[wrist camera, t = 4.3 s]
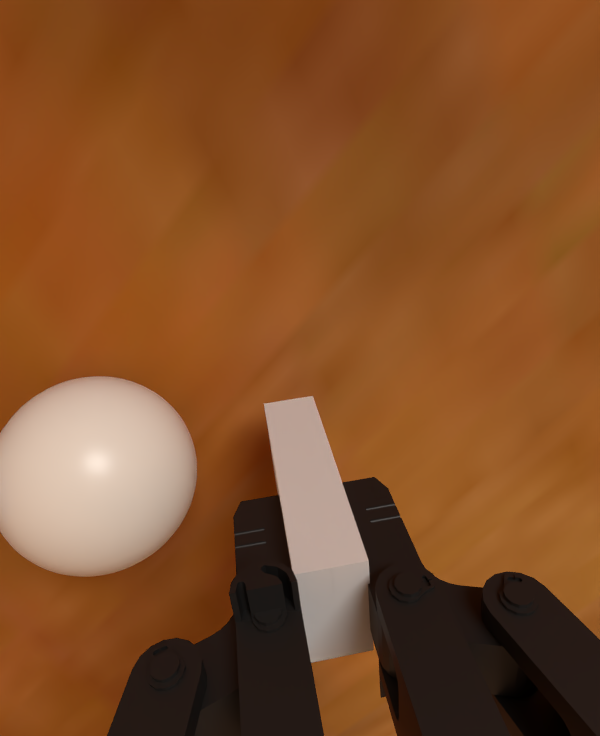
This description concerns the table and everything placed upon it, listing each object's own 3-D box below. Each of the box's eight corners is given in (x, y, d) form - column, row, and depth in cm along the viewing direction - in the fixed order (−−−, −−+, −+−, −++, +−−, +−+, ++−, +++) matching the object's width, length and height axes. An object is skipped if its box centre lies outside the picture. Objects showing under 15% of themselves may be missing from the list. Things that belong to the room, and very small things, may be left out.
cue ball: (21, 656, 13) (34, 518, 18) (232, 574, 15) (194, 466, 19) (-74, 483, 11) (-30, 375, 15) (192, 406, 12) (159, 329, 17)
